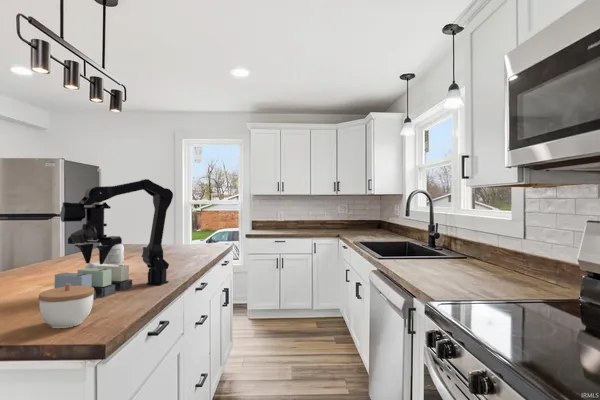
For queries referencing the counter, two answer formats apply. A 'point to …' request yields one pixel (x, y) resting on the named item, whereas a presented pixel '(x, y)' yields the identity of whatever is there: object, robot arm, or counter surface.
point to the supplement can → (115, 255)
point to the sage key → (98, 276)
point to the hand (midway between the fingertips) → (94, 263)
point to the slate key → (73, 279)
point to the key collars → (111, 288)
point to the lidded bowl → (66, 305)
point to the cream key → (117, 271)
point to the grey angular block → (93, 265)
